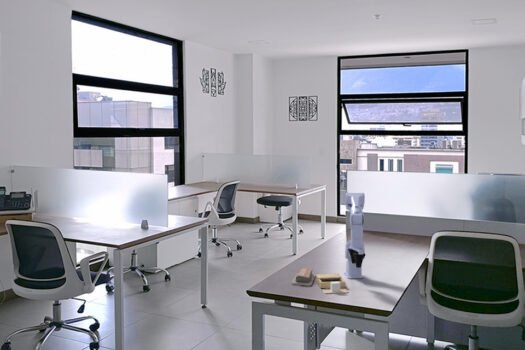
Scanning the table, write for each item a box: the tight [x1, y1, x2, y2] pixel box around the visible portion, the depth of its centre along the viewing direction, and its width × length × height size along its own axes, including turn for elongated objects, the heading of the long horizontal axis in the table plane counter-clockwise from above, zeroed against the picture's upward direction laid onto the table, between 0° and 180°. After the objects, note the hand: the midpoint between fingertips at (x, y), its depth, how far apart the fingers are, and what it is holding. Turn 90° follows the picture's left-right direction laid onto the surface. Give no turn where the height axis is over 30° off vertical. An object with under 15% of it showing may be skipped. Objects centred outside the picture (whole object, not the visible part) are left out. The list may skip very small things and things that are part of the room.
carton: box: [315, 273, 346, 289], centre depth 250 cm, size 12×12×4 cm
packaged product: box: [291, 267, 316, 287], centre depth 257 cm, size 18×5×10 cm
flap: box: [321, 281, 350, 294], centre depth 239 cm, size 6×12×5 cm, turn 97°
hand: (356, 265), depth 246 cm, fingers open, 7 cm apart
